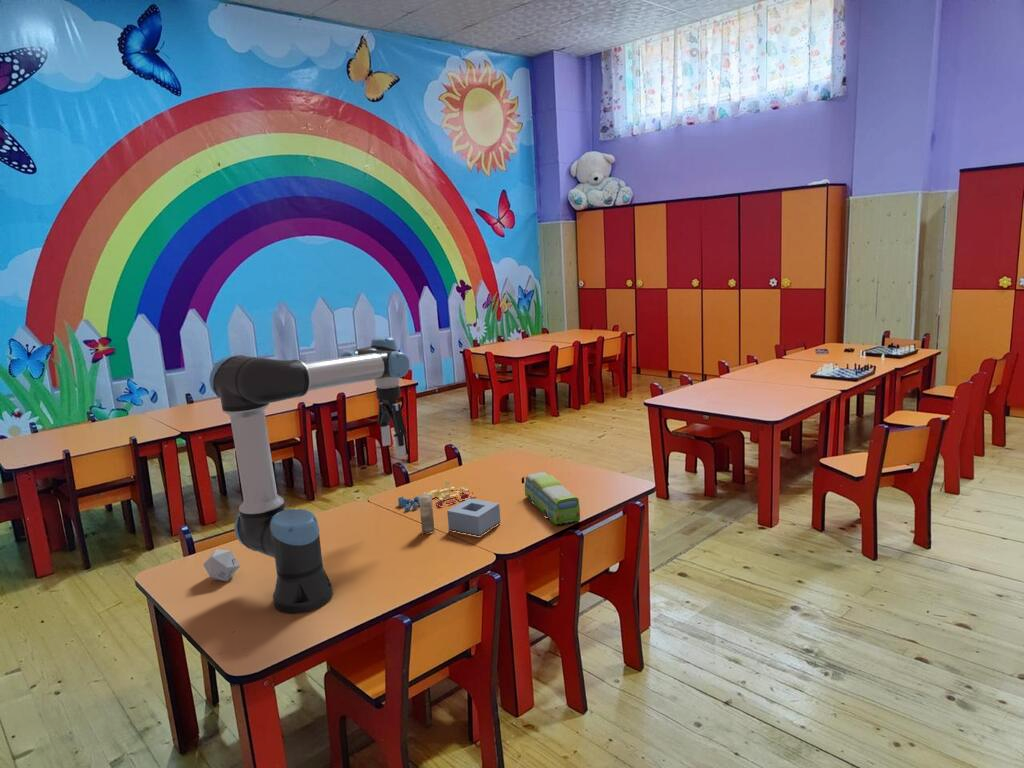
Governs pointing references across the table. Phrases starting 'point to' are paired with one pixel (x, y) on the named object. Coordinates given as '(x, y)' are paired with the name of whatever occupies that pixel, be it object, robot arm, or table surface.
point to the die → (221, 565)
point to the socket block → (473, 516)
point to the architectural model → (434, 493)
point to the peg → (426, 513)
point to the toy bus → (552, 498)
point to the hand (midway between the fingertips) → (393, 450)
